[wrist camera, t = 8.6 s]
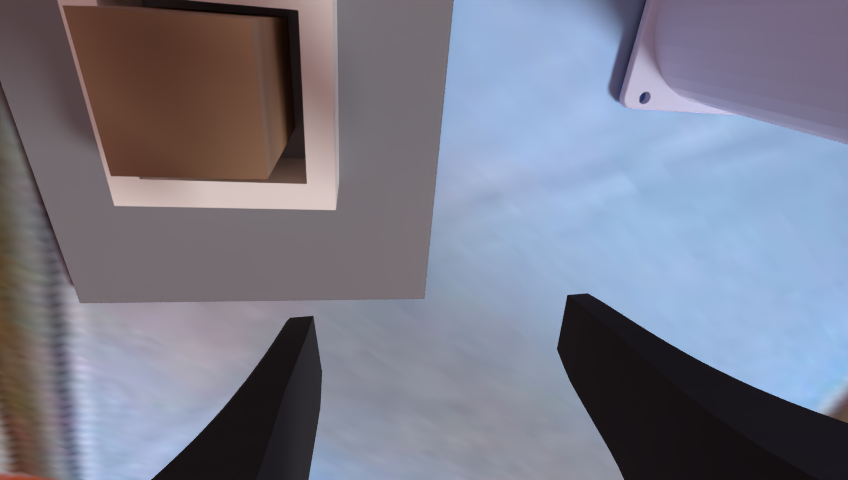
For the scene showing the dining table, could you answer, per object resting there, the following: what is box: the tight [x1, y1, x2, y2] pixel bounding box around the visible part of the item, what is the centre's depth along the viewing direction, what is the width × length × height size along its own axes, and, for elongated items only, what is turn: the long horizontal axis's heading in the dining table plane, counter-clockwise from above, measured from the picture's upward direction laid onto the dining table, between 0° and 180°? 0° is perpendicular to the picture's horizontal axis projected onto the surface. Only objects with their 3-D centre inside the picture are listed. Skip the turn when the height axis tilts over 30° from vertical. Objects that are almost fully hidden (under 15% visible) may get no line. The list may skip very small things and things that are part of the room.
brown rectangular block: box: [62, 5, 295, 179], centre depth 13 cm, size 4×4×6 cm
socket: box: [0, 0, 454, 303], centre depth 15 cm, size 16×20×4 cm
